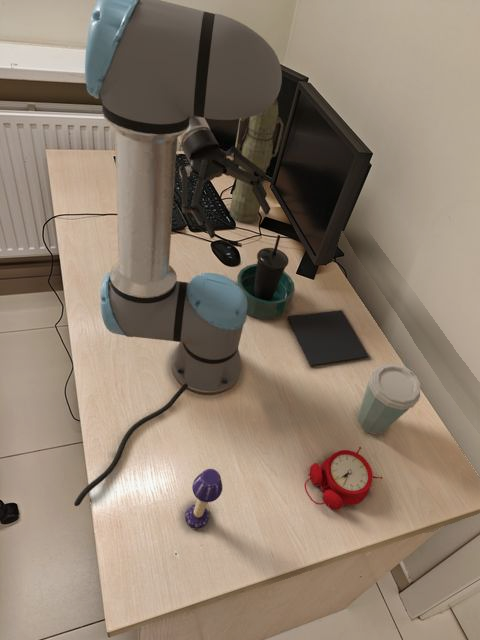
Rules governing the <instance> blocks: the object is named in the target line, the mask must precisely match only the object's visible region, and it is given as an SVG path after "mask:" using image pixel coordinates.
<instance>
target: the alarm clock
mask: <svg viewBox="0 0 480 640" xmlns="http://www.w3.org/2000/svg"><path fill="white" fill-rule="evenodd" d="M361 449H362V447H361V446H359V447H358V449H357V451H353V450H350V449H349V450H348V449H342V450H338V451H335V452H334V453H332V454H331V455H330V456H328V457H327V458H325V459H324V460H323V461H322V463H321V464H319V463H318V462H314V463H312V464H311V465H310V466H309V472H308V475H307V476H308V477H309V478H307V480H306V481H305V482H304V491H305V492H306V495H307V497H308V498H309V499H310V501H312V503H314V504H315V505H320V506H321V505H326V506H327V507H328V508H330V510H333V511H340V510H342V509H343V507H344V506H349V507H350V506H356V505H358V504H361V503H362V502H363V501H364V500H365V499H366V497H368V495H369V493H370V489H371V487H372V484H373V479H380V480H383V476H374V475H373V470H372V467H371V465H370V464H369V462H368V460H367V459H366V458H365V457H364V456H363V455H361V454H360V453H359V452H360V450H361ZM309 480H310V482H311V484H312V485H313V486H314V487H315V486H317V487H319V486H320V490H321V491H323V494H322V501H323V502H317V501H315V500H314V499H313V498H312V497H311V495H310V494H309V492H308V489H307V483H308V482H309Z"/></svg>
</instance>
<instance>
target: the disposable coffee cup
mask: <svg viewBox="0 0 480 640" xmlns="http://www.w3.org/2000/svg"><path fill="white" fill-rule="evenodd" d="M420 398H421V382H420V379H419V378H418V376H417V375H416V374H415V373H414V372H413V371H412V370H411V369H409V368H408V367H406V366H405V365H402V364H397V363H394V362H391V363H385V364H382V365H378V366H377V367H376V368H375V369H374V370H373V371H372V372H370V374H369V375H368V383H367V385H366V388H365V391H364V395H363V398H362V401H361V403H360V407H359V409H358V410H359V411H358V415H357V421H358V424H359V426H360V427H361V429H363V430H364V431H365V432H366V433H370V434H372V435H377V434H381V433H384V432H385V431H386V430H387V429H388V428H390V427H391V426H392V425H393V424H394V423H395V422H396V421H397V420H399V418H401V417H402V416H403V415H404V414H405V413H407V411H409V410H410V409H412V408H414V407H415V406H416V405H417V404H418V402H419V401H420Z"/></svg>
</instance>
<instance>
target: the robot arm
mask: <svg viewBox="0 0 480 640" xmlns="http://www.w3.org/2000/svg"><path fill="white" fill-rule="evenodd" d="M84 55H85V57H84V58H85V59H84V82H85V84H86V91H87V93H88V94H89V95H90V96H92V97H94V98H95V99H98V100H99V99H101V104H102V105H101V109H102V111H101V112H102V116H103V119H104V120H105V121H106V122H107V123H108V124H109V125H110V126H111V127H112V128H113V129H114V143H115V144H114V147H115V148H114V150H115V151H114V152H115V153H114V154H115V182H116V183H115V185H116V216H117V217H116V218H117V219H116V221H117V247H118V248H117V249H118V250H117V251H118V254H117V255H118V261H117V262H115V264H113V266H112V267H111V269H110V271H108V272H107V273H105V274H104V276H103V278H102V282H101V288H100V313H101V318H102V322H103V325H104V326H105V329H106V330H107V331H109V332H110V333H112V334H115V335H119V336H124V337H127V338H138V339H139V338H140V339H149V340H159V341H168V342H176V343H177V342H178V345H177V346H176V348H175V349H174V351H173V354H172V357H171V365H170V367H171V373H172V376H173V377H174V379H175V380H176V382H177V383H178V384H179V385H180V386H181V387H180V388H179V389H178V390H177V391H176V393H175V394H174V395H173V396H172V398H170V400H169V401H168V402H167V403H166V404H164V405H163V406H162V407H160V408H159V409H158V410H156V411H154V412H152V413H150V414H148V415H146V416H145V417H142V418H141V419H139V420H138V421H136V422H135V423H134V424H133V425H132V426H131V427H130V428H129V429H128V430H127V431H126V432H125V434H124V436H123V438H122V439H121V442H120V444H119V445H118V448H117V451H116V453H115V456H114V458H113V459H112V461H111V463H110V464H109V465H108V467H107V468H106V469H105V470H104V471H103V472H102V473H101V474H100V475H99V476H97V477H96V478H95V479H94V480H92V481H91V482H90V483H89V484H87V486H86V487H85V488H83V490H82V491H81V492H80V493H79V494H78V495H77V498H76V499H75V501H74V503H73V505H74V506H75V507H78V506H80V505H81V503H82V502H83V500H84V499H85V497H86V496H88V494H89V493H90V491H92V490H94V488H95V487H97V486H98V485H99V484H100V483H102V482H103V481H104V480H105V479H106V478H108V477H109V475H111V473H112V472H113V471H114V470H115V468H116V466H117V465H118V464H119V461H120V460H121V458H122V455H123V452H124V450H125V447H126V445H127V443H128V441H129V439H130V437H131V436H132V435H133V434H134V432H135V431H136V430H138V428H140V427H141V426H142V425H144V424H146V423H147V422H149V421H151V420H154V419H155V418H157V417H158V416H161V415H162V414H164V413H165V412H167V411H168V410H169V409H170V408H171V407H173V405H174V404H175V403H176V402H177V400H178V399H179V398H180V397H181V396H182V394H184V392H185V391H186V390H187V391H188V392H191V393H193V394H197V395H201V396H216V395H220V394H223V393H225V392H228V391H229V390H230V389H232V388H233V387H234V386H235V385H236V384H237V383H238V381H239V379H240V375H241V372H242V358H241V355H240V350H239V345H240V341H241V337H242V333H243V329H244V326H245V323H246V322H247V315H248V314H246V312H247V298H246V295H245V293H244V291H243V290H242V289H241V288H240V287H239V286H238V285H237V283H236V281H235V280H233V279H232V278H230V277H228V276H226V275H223V274H219V273H215V272H202V273H201V274H197V275H195V276H194V277H192V278H191V280H189V282H187V281H179V280H177V272H176V270H175V269H174V268H173V267H172V266H171V265H170V258H171V257H170V254H171V243H172V241H171V239H172V228H173V227H172V226H173V211H174V194H175V182H176V181H175V180H176V166H177V165H176V164H177V149H178V144H179V146H180V147H181V151H183V153H184V156H185V158H186V159H187V161H188V163H189V165H186V166H185V165H182V164H181V165H179V166H178V175H179V177H180V180H181V213H182V214H185V215H186V214H187V213H190V214H191V215H192V216H193V217H194V219H195V220H196V222H197V224H198V225H199V226H202V225H203V226H204V229H205V230H206V232H207V235H208V236H209V237H210V239H214V238H215V235H216V231H215V229H214V228H213V225H212V224H211V222H210V220H209V218H208V216H207V214H206V212H205V210H204V208H203V207H202V205H200V206H199V203H200V200H201V195H202V191H203V188H204V185H205V181H209V182H211V181H212V180H214V179H216V178H220V177H222V176H223V175H225V176H227V177H232V178H233V179H236V180H237V179H238V180H240V181H242V182H245V183H247V184H249V185H251V186H253V188H252V191H253V193H254V195H255V197H256V198H257V200H258V202H259V204H260V209H261V210H262V211H263V214H264V215H265V216H267V215H269V213H270V211H271V206H270V204H269V202H268V201H267V191H266V189H265V187H264V184H263V185H262V182H263V181H264V182H265V179H266V177H267V174H266V173H267V172H266V173H265V172H264V171H263V170H261V169H260V168H259V167H257V166H256V165H255V164H253V163H252V162H251V161H250V160H248V159H247V158H246V157H244V156H243V155H242V154H240V153H239V151H238V150H237V148H236V147H235V145H231V146H230V149H228V150H225V151H223V150H222V149H221V147H220V145H219V143H218V140H217V139H216V137H215V134H214V133H213V132H212V131H211V127H210V126H209V123H208V122H207V120H206V119H208V120H216V121H231V120H232V121H233V120H234V121H235V120H240V119H242V118H248V117H252V116H255V115H258V114H260V113H262V112H264V111H266V110H267V109H268V108H269V107H270V106H271V105H272V104H273V103H274V101H275V100H277V98H278V97H279V93H280V91H281V88H282V84H283V83H282V81H283V72H282V67H281V62H280V60H279V57H278V55H277V53H276V51H275V50H274V49H273V48H272V46H271V45H270V44H269V42H268V41H266V40H265V39H264V37H262V36H261V35H260V34H258V32H256V31H255V30H254V29H252V28H250V27H249V26H247V25H246V24H244V23H243V22H240V21H238V20H237V19H234V18H233V17H232V18H231V17H229V16H227V15H223V14H221V13H220V14H219V13H212V12H209V11H204V10H201V9H197V8H192V7H188V6H185V5H182V4H181V5H180V4H177V3H173V2H169V1H165V0H97V1H96V3H95V5H94V8H93V11H92V13H91V18H90V21H89V25H88V31H87V38H86V46H85V54H84ZM227 159H229V160H230V161H233V162H234V163H235V164H236V165H237V166H235V165H233V163H232V162H230V161H228V160H227ZM239 166H240V167H241V168H243V169H244V170H245V171H244V170H242V169H240V168H239ZM246 171H247V172H246ZM191 173H193V175H196V176H197V180H196V185H195V189H194V192H193V196H192V199H191V200H192V201H191V203H189V199H188V198H189V178H190V177H191Z"/></svg>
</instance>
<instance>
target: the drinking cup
mask: <svg viewBox="0 0 480 640" xmlns="http://www.w3.org/2000/svg"><path fill="white" fill-rule="evenodd" d="M280 239H281V235H280V234H277V236H276V240H275V244H274V247H264V248H261V249H260V250H259V251H258V252H257V254H256V259H257V261H256V264H257V269H256V276H255V284H254V291H253V296H254V297H256V298H258V299H261V300H265V301H271V300H272V297H273V295H274V293H275V290H276V288H277V286H278V283H279V281H280V279H281V276H282V274H283V272H285V270H286V267H287V266H288V265H289V263H290V262H289V257H288V256H287V254H286V253H285V252H283V250H280V249H278V247H279V243H280Z"/></svg>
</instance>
